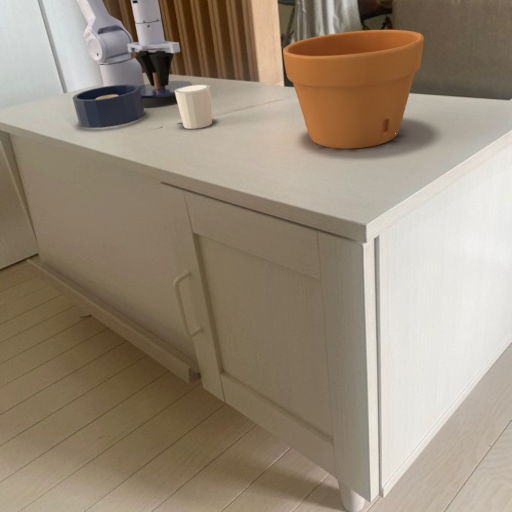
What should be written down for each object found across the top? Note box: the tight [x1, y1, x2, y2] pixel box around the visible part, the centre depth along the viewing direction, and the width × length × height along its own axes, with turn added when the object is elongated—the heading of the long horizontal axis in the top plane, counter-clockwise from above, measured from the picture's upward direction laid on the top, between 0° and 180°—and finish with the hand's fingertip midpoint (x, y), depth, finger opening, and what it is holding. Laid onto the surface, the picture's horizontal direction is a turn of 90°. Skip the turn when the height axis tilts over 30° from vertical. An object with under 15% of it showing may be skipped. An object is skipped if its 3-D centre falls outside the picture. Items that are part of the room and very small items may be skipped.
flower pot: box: [282, 29, 425, 150], centre depth 86 cm, size 21×21×15 cm
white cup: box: [174, 84, 213, 130], centre depth 104 cm, size 7×7×7 cm
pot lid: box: [138, 72, 193, 100], centre depth 124 cm, size 15×15×5 cm
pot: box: [72, 85, 145, 129], centre depth 113 cm, size 14×14×6 cm
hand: (159, 85), depth 124 cm, fingers closed on pot lid, 2 cm apart
